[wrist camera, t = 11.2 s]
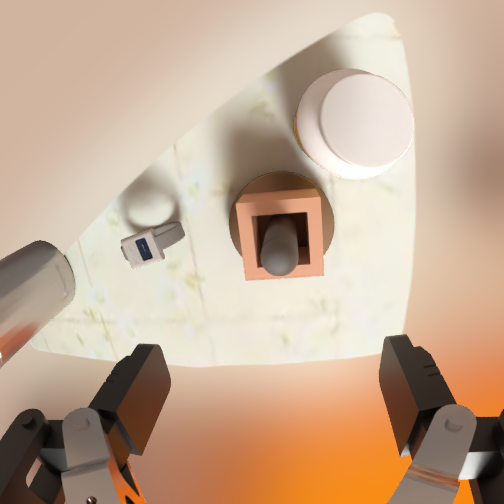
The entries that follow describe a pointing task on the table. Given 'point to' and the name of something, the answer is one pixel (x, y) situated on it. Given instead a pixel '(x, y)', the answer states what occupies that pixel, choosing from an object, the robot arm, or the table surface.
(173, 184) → the table surface
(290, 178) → the post stand
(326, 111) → the supplement bottle
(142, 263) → the wristwatch
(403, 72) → the table surface
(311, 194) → the pink hollow square block
